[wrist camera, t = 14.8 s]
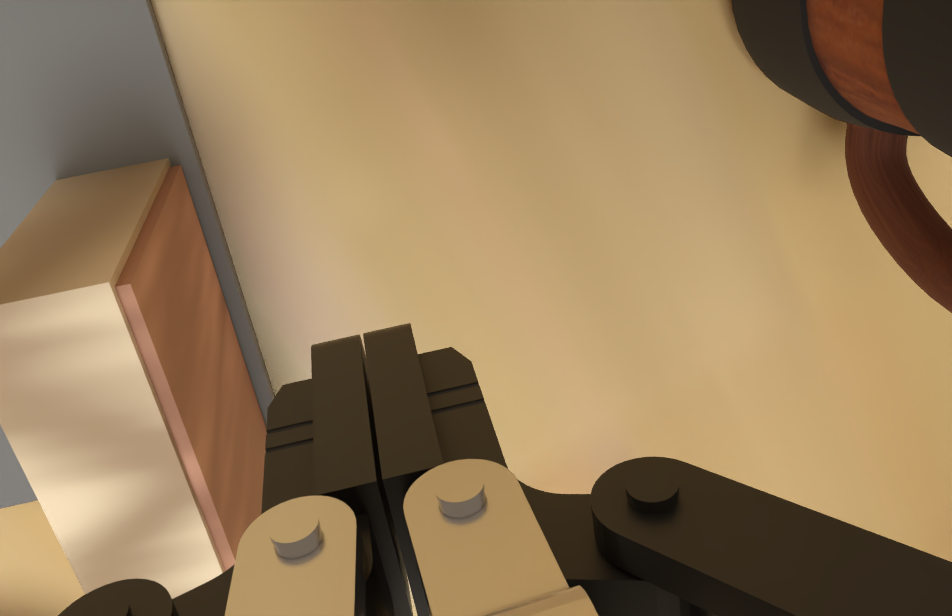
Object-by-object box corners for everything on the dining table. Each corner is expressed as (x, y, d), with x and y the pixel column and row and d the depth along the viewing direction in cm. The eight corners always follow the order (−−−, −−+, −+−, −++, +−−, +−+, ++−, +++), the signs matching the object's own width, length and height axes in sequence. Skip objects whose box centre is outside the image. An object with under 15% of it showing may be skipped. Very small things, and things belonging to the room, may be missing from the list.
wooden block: (124, 278, 17) (264, 645, 21) (179, 155, 24) (275, 451, 28) (-54, 315, 16) (127, 678, 21) (55, 180, 23) (172, 474, 28)
